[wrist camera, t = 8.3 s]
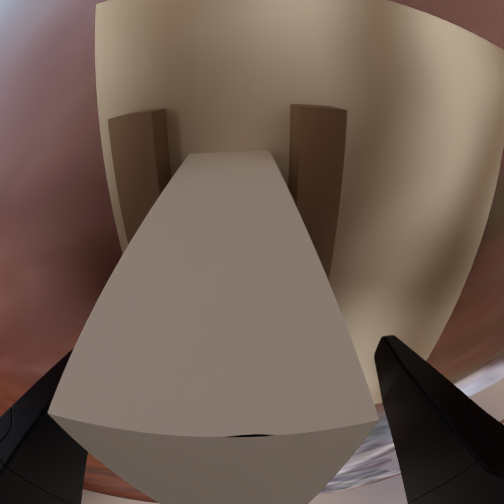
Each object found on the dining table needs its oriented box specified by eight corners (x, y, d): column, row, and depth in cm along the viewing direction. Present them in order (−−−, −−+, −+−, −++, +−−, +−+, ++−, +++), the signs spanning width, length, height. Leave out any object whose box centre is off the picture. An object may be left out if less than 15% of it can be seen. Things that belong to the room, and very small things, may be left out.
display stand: (493, 52, 7) (534, 56, 5) (398, 386, 18) (409, 414, 16) (108, 10, 6) (73, -6, 4) (181, 405, 17) (177, 438, 15)
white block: (179, 154, 8) (21, 405, 2) (280, 150, 8) (415, 409, 2) (209, 369, 14) (202, 530, 7) (271, 367, 14) (288, 528, 7)
